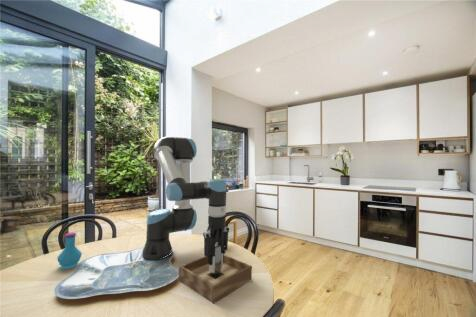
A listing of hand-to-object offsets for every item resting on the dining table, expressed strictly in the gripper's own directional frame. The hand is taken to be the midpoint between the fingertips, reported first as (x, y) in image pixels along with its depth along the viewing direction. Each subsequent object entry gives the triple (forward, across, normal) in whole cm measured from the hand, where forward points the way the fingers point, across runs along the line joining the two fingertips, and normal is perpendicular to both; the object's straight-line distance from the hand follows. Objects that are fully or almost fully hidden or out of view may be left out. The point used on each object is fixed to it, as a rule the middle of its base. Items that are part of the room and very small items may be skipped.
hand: (215, 269), depth 94 cm
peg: (+4, 0, 0) cm, 4 cm away
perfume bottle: (+5, -39, +60) cm, 72 cm away
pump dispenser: (+5, +26, +30) cm, 40 cm away
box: (+5, 0, 0) cm, 5 cm away
